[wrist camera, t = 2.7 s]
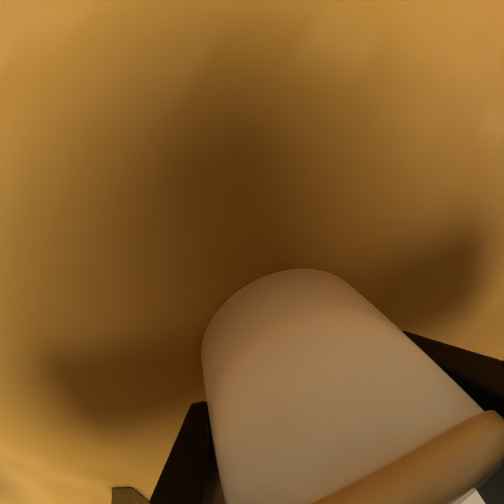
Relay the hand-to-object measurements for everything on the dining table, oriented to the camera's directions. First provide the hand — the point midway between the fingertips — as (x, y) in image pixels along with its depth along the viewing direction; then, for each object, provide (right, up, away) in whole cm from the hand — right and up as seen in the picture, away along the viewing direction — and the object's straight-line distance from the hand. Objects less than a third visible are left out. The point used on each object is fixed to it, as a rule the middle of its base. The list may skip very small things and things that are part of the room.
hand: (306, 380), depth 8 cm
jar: (0, +1, +1) cm, 2 cm away
